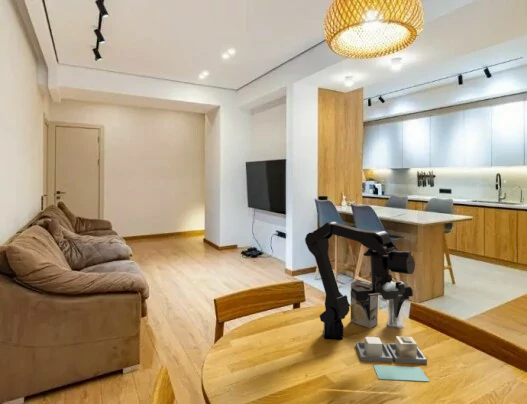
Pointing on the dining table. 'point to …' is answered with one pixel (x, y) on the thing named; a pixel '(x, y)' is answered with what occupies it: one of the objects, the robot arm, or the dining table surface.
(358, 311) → the coffee box
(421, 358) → the tray
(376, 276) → the robot arm
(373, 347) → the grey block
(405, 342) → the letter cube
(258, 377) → the dining table surface
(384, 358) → the tray
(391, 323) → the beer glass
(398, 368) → the teal mat
